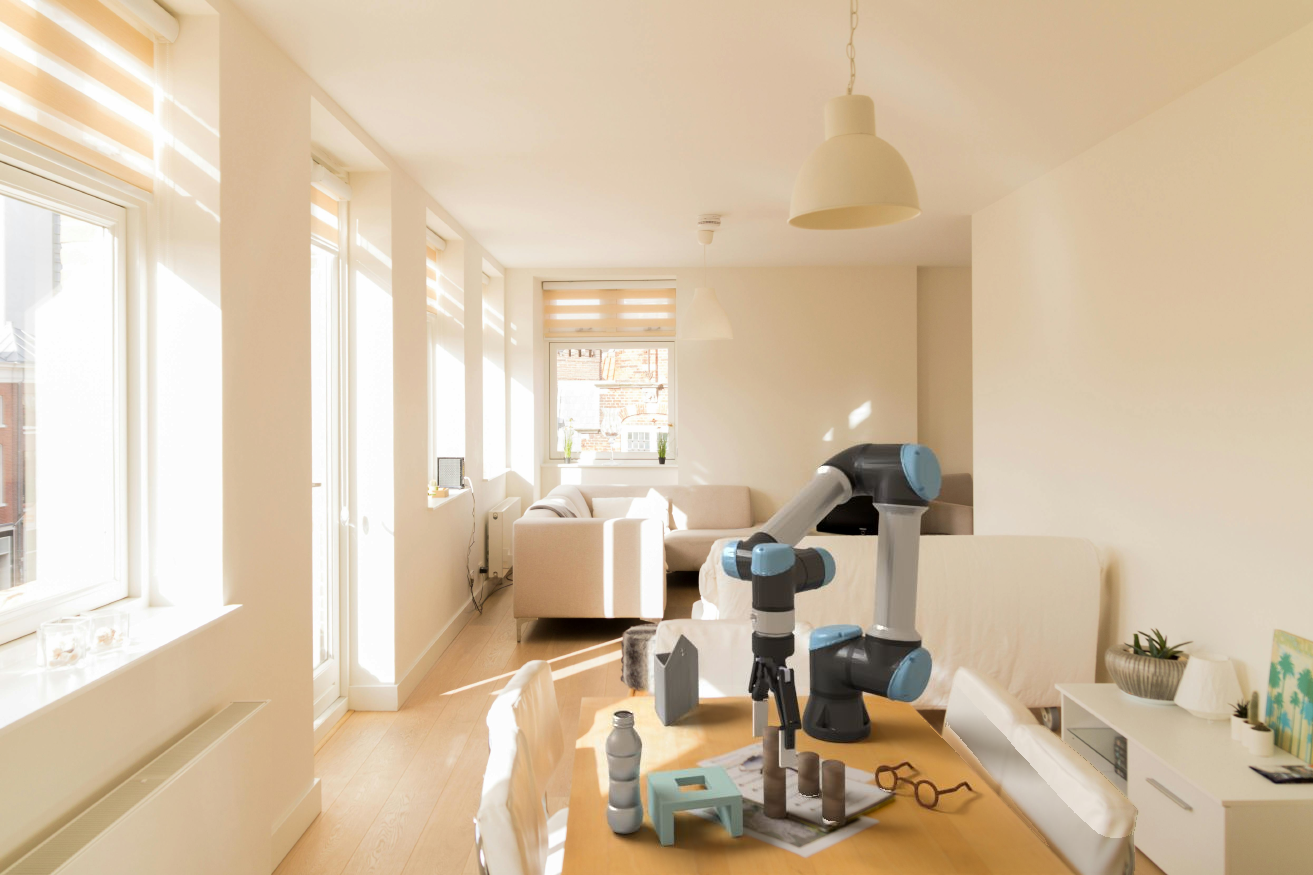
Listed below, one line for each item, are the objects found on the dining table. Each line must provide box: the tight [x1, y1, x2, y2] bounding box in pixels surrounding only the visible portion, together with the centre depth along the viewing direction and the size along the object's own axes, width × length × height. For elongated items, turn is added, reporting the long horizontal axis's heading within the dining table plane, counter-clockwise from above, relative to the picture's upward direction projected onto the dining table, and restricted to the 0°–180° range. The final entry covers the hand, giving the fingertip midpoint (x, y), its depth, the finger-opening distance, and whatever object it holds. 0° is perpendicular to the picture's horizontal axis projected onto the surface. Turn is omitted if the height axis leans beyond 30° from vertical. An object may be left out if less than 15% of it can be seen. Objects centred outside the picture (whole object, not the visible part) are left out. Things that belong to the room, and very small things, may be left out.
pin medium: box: [821, 759, 847, 828], centre depth 142 cm, size 4×4×10 cm
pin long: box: [762, 725, 787, 820], centre depth 145 cm, size 4×4×15 cm
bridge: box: [646, 764, 744, 847], centre depth 142 cm, size 14×12×7 cm
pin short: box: [797, 750, 821, 796], centre depth 153 cm, size 4×4×7 cm
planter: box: [653, 633, 700, 727], centre depth 195 cm, size 16×8×19 cm, turn 149°
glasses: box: [874, 761, 973, 810], centre depth 154 cm, size 13×13×5 cm
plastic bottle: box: [605, 710, 645, 835], centre depth 140 cm, size 6×7×20 cm
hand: (773, 750), depth 145 cm, fingers open, 13 cm apart
